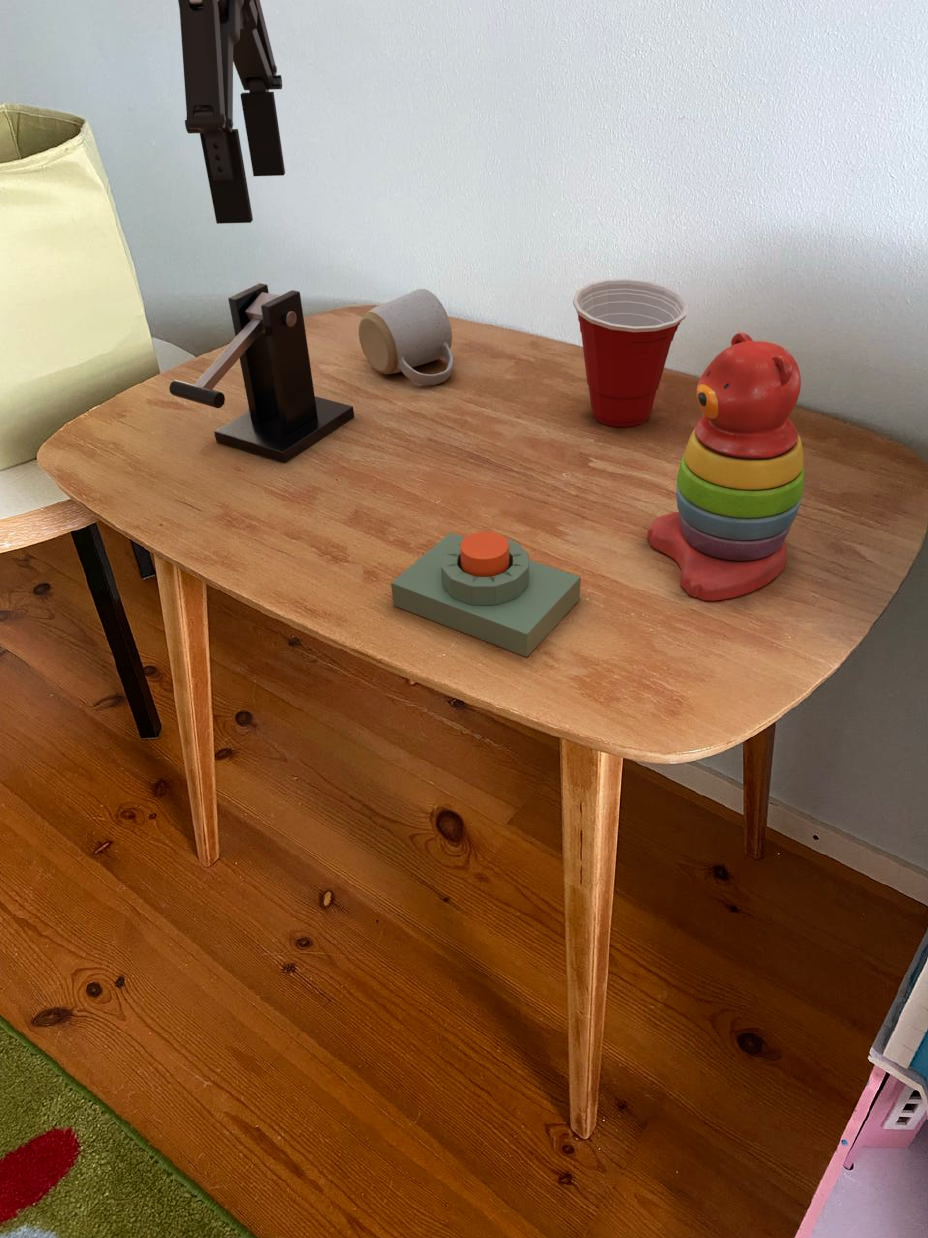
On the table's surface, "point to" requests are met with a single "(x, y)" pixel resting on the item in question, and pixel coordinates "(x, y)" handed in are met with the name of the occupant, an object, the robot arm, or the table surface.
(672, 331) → the plastic cup
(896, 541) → the table surface
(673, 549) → the stacking bear
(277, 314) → the bracket
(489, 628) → the control block
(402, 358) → the ceramic mug
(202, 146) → the robot arm
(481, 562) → the button
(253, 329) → the lever
